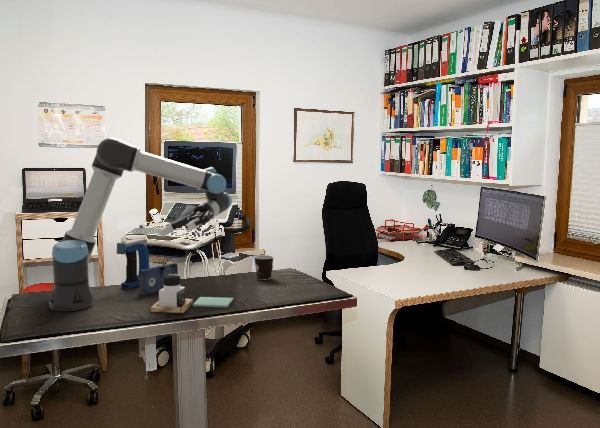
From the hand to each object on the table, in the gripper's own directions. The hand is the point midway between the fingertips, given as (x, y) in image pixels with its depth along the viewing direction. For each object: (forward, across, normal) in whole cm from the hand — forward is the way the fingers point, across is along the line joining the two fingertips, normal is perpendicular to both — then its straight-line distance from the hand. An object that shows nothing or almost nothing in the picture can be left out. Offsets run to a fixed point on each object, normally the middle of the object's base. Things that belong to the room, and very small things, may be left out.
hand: (174, 230), depth 186 cm
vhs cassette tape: (-6, +26, -25) cm, 36 cm away
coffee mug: (-40, -2, -41) cm, 57 cm away
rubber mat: (0, -4, -31) cm, 31 cm away
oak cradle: (+11, +5, -25) cm, 28 cm away
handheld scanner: (-7, +39, -21) cm, 45 cm away
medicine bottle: (+11, +5, -26) cm, 28 cm away
